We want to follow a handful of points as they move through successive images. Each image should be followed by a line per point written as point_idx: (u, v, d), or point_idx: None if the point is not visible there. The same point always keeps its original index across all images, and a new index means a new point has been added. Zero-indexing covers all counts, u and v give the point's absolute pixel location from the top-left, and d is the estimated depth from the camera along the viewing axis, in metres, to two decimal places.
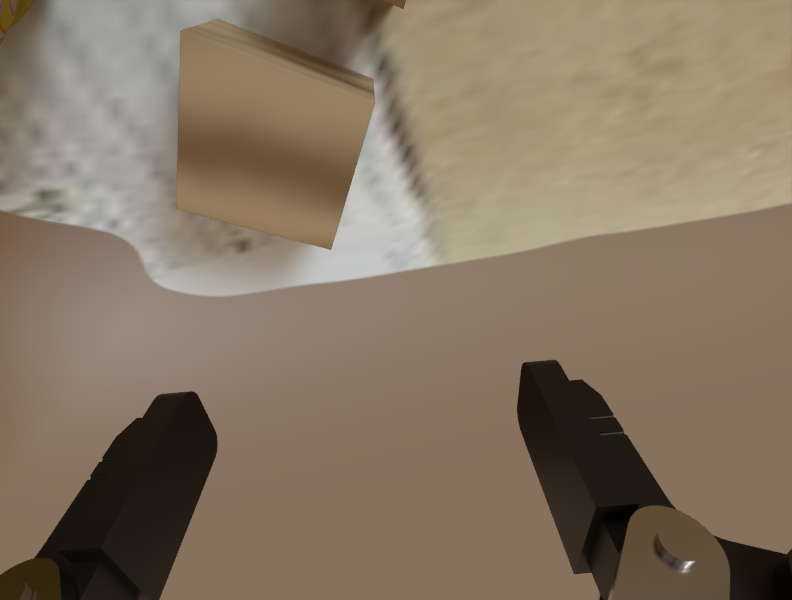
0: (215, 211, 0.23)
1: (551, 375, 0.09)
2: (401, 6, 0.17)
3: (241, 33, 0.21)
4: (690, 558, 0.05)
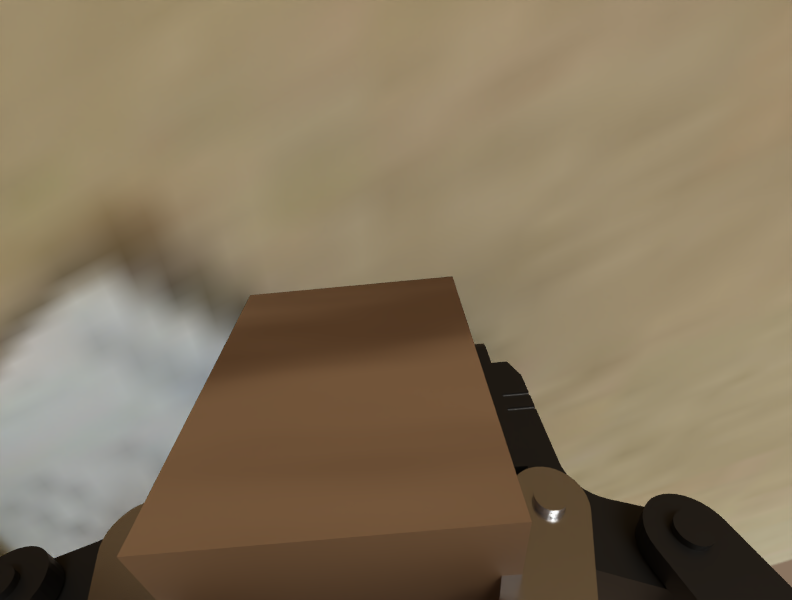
0: None
1: None
2: None
3: None
4: (557, 508, 0.06)
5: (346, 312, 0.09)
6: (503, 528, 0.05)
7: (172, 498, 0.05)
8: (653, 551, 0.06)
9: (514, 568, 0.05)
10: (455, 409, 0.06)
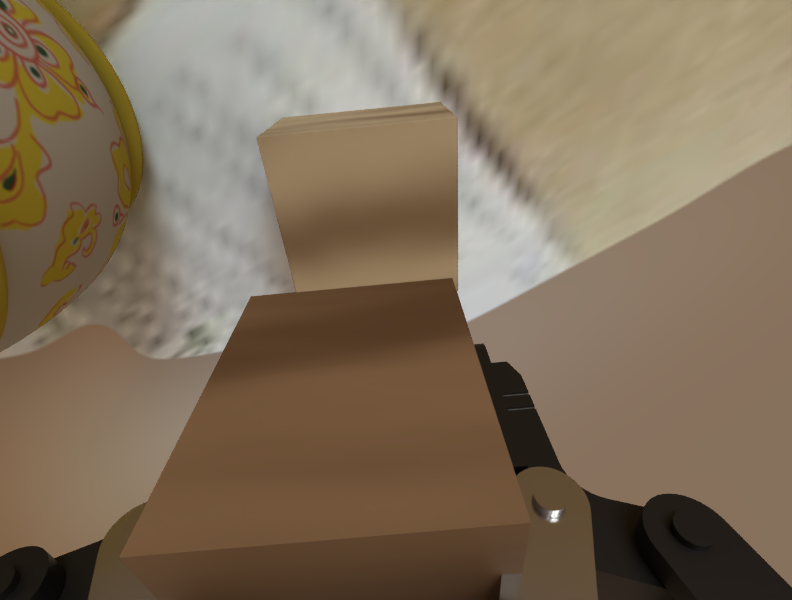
0: None
1: None
2: None
3: (306, 119, 0.22)
4: (556, 508, 0.06)
5: (346, 313, 0.09)
6: (502, 529, 0.05)
7: (174, 498, 0.05)
8: (653, 551, 0.06)
9: (513, 568, 0.05)
10: (456, 410, 0.06)
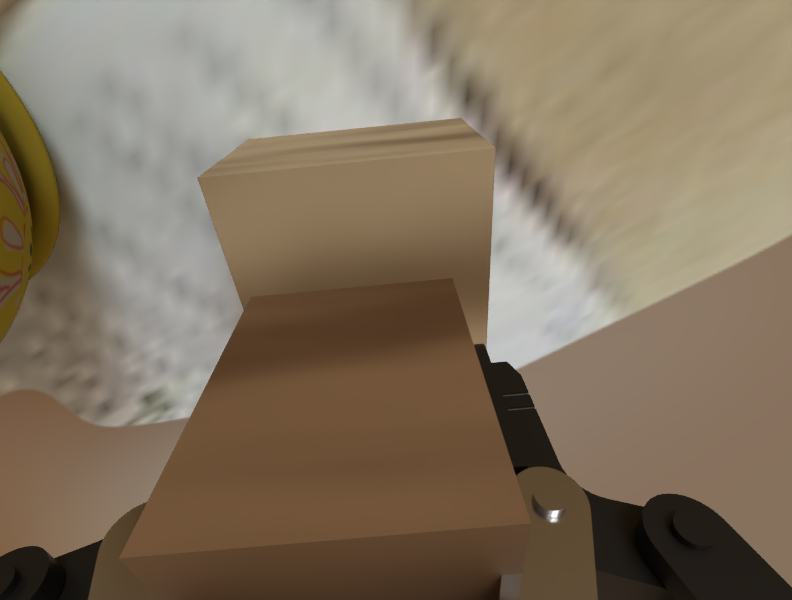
0: None
1: None
2: None
3: (278, 142, 0.16)
4: (556, 508, 0.06)
5: (346, 314, 0.09)
6: (503, 529, 0.05)
7: (174, 498, 0.05)
8: (653, 551, 0.06)
9: (514, 569, 0.05)
10: (456, 410, 0.06)
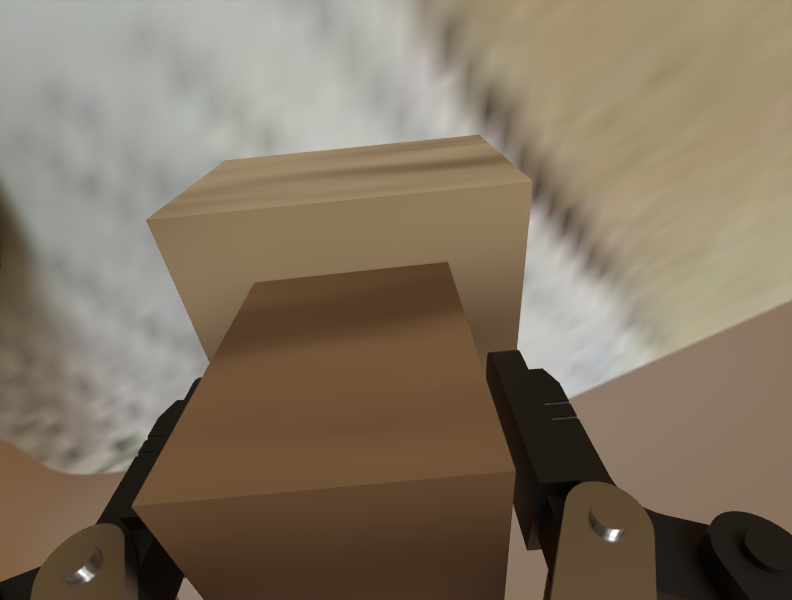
0: None
1: (511, 364, 0.09)
2: None
3: (259, 166, 0.13)
4: (618, 527, 0.06)
5: (345, 295, 0.09)
6: (489, 478, 0.05)
7: (182, 456, 0.06)
8: (719, 567, 0.05)
9: (502, 521, 0.06)
10: (447, 377, 0.07)
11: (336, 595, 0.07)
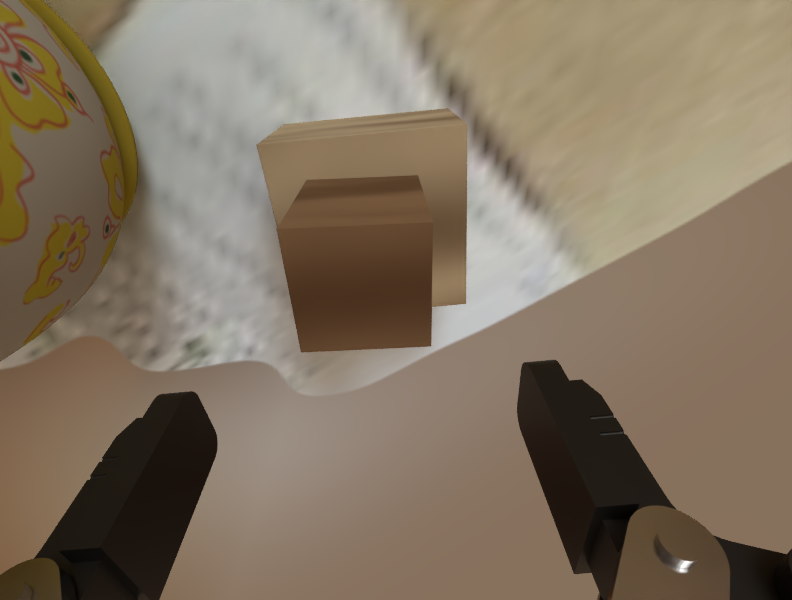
0: None
1: (551, 375, 0.09)
2: (428, 344, 0.15)
3: (308, 125, 0.21)
4: (690, 558, 0.05)
5: (360, 184, 0.17)
6: (423, 227, 0.13)
7: (292, 220, 0.13)
8: None
9: (429, 255, 0.13)
10: (410, 205, 0.14)
11: (352, 303, 0.14)
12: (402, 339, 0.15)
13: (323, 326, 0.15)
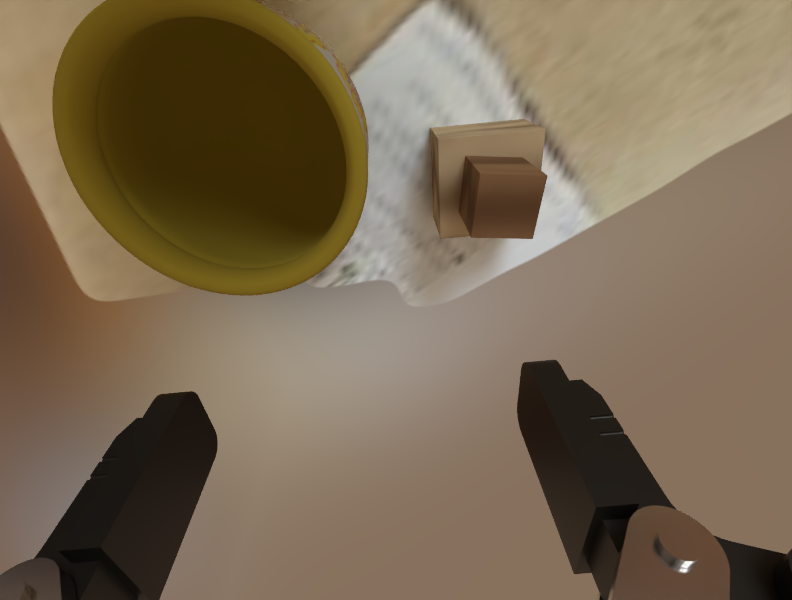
0: (462, 231, 0.38)
1: (551, 375, 0.09)
2: (531, 237, 0.32)
3: (449, 128, 0.37)
4: (690, 558, 0.05)
5: (497, 159, 0.34)
6: (542, 177, 0.30)
7: (483, 171, 0.30)
8: None
9: (542, 191, 0.30)
10: (531, 169, 0.31)
11: (502, 213, 0.31)
12: (520, 233, 0.32)
13: (485, 224, 0.31)
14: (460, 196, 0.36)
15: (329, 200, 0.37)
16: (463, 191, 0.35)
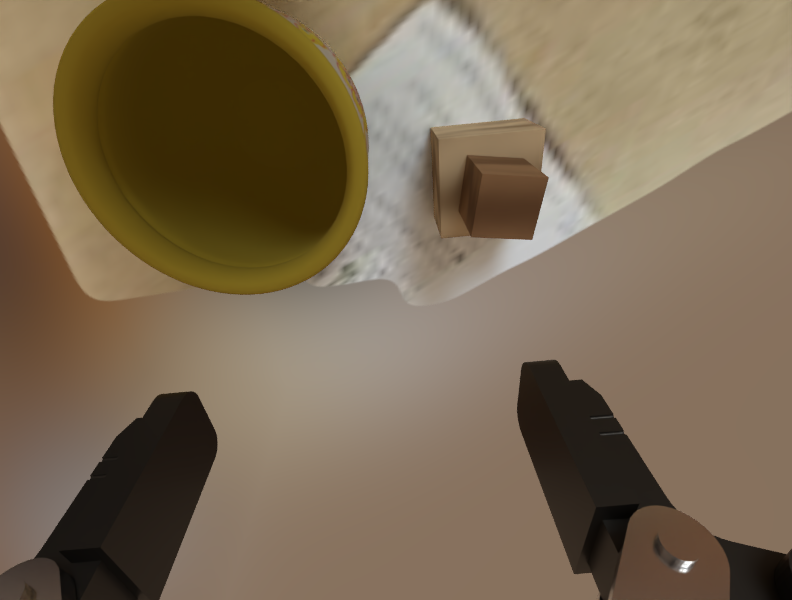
0: (462, 231, 0.38)
1: (551, 375, 0.09)
2: (530, 238, 0.32)
3: (449, 128, 0.37)
4: (690, 558, 0.05)
5: (498, 159, 0.34)
6: (543, 179, 0.30)
7: (485, 171, 0.30)
8: None
9: (542, 192, 0.30)
10: (532, 170, 0.31)
11: (503, 213, 0.31)
12: (520, 234, 0.32)
13: (486, 224, 0.31)
14: None
15: (329, 199, 0.37)
16: (464, 190, 0.35)
